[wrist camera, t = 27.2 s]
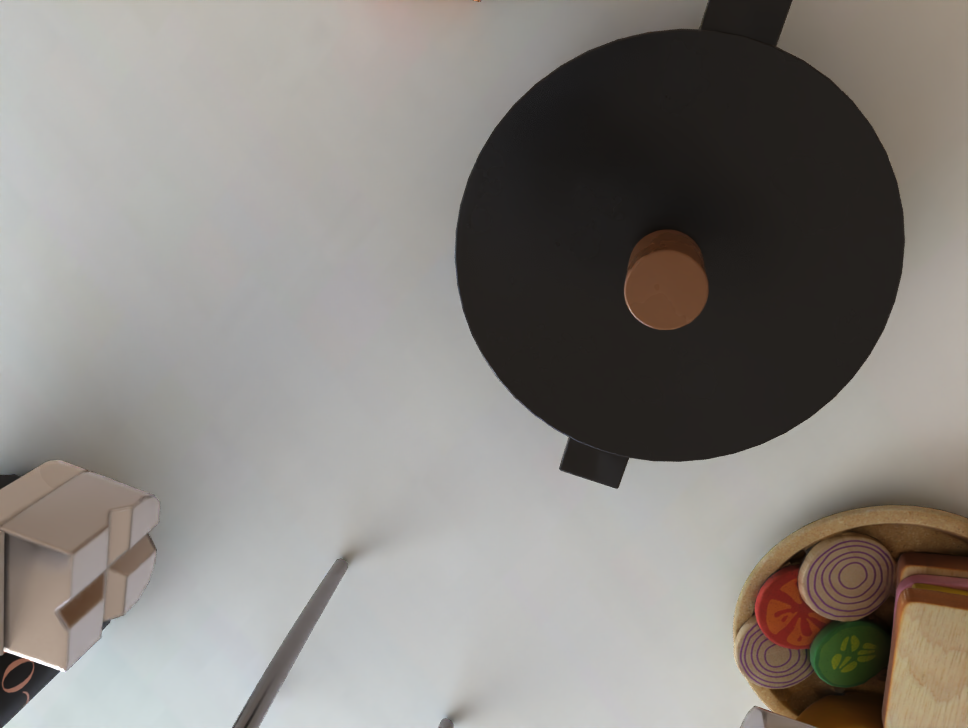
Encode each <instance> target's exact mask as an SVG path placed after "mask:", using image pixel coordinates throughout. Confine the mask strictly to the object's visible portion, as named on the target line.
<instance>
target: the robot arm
mask: <svg viewBox="0 0 968 728" xmlns="http://www.w3.org/2000/svg"><path fill="white" fill-rule="evenodd" d="M159 520H160V501H159V500H158V499H157V497H156V496H155V495H153V494H151V493H148V492H145V491H143V490H140V489H137V488H135V487H132V486H129V485H127V484H124V483H121V482H119V481H116V480H114V479H111V478H108V477H106V476H103V475H100V474H98V473H95V472H92V471H91V472H90V471H88V470H86V469H83V468H80V467H78V466H75V465H72V464H69V463H67V462H64V461H61V460H52V461H47V462H45V463H43V464H42V465H40V466H39V467H37V468H35V469H34V470H32V471H30V472H29V473H27V474H25V475H24V476H22V477H20V478H19V479H17V480H15V481H14V482H12V483H10V484H9V485H7V486H5V487H4V488H2V489H0V656H1V655H3V653H4V651H6V652H9V653H12V654H15V655H18V656H20V657H23V658H26V659H29V660H32V661H35V662H38V663H41V664H43V665H46V666H49V667H52V668H55V669H58V670H61V671H63V672H66V671H67V670H68V669H69V668H70V667H71V666H72V665H73V664H74V663H75V662H77V661H78V660H79V659H80V658H81V657H82V656H83V655H84V654H85V653H86V652H87V651H88V650H89V649H90V648H91V647H92V646H93V645H94V644H95V643H96V642H97V641H98V640H99V639H100V638H101V635H102V622H105V621H108V620H111V619H114V618H117V617H120V616H124V615H125V614H126V613H127V612H128V611H129V610H130V609H131V608H132V607H133V605H134V604H135V603H136V602H137V601H138V600H139V598H140V597H141V595H142V593H143V592H144V590H145V588H146V587H147V585H148V583H149V582H150V579H151V576H152V572H153V569H154V566H155V560H156V551H157V549H156V547H155V545H154V543H153V541H152V539H151V538H150V536H149V534H148V532H149V531H150V530H152V529H153V528H154V527H155V526H156V525H157V524H158V523H159ZM740 728H818V727H815V726H812V725H809V724H806V723H803V722H801V721H798V720H795V719H792V718H789V717H786V716H783V715H780V714H777V713H774V712H772V711H769V710H766V709H763V708H760V707H757V706H754V707H753V708H752V709H751V710H750V711H749V712H748V713H747V715H746V717H745V719H744V721H743V722H742V724H741V726H740Z"/></svg>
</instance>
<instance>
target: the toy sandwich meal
mask: <svg viewBox="0 0 968 728" xmlns="http://www.w3.org/2000/svg"><path fill="white" fill-rule="evenodd" d="M733 638H734V657H735V662H736V664H737V666H738V668H739V670H740V672H741V673H742V674H743V675H744V677H746V679H747V681H748V683H749V684H750V686H751V687H752V689H753V690H754V692H755V693H756V694H757V696H758V697H759V698H760V699H761V701H762V702H763V703H764V704H765V705H766V706H767V707H768V708H769V709H770V710H771V711H772V712H774V713H777V714H780V715H783V716H786V717H789V718H792V719H795V720H798V721H801V722H803V723H806V724H809V725H812V726H815V727H818V728H968V518H965V517H962V516H960V515H957V514H953V513H949V512H946V511H942V510H937V509H932V508H926V507H918V506H906V505H885V506H872V507H864V508H858V509H852V510H848V511H844V512H840V513H837V514H833V515H830V516H827V517H824V518H822V519H820V520H817V521H815V522H812V523H810V524H808V525H806V526H804V527H802V528H801V529H799V530H797V531H795V532H794V533H792V534H791V535H789V536H788V537H786V538H785V539H783V540H782V541H781V542H779V543H778V544H777V545H775V546H774V547H773V548H772V549H771V550H770V551H769V552H768V553H767V554H766V555H765V556H764V557H763V558H762V559H761V561H760V562H759V563H758V564H757V565H756V567H755V568H754V569H753V571H752V572H751V574H750V575H749V577H748V579H747V580H746V582H745V584H744V586H743V588H742V590H741V593H740V595H739V598H738V601H737V604H736V608H735V613H734V622H733Z"/></svg>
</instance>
